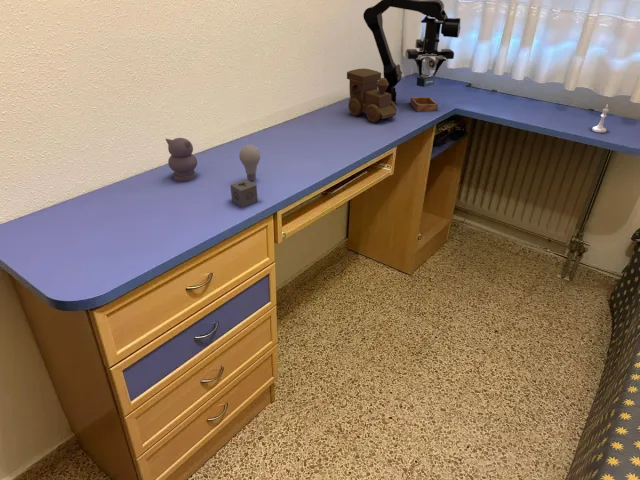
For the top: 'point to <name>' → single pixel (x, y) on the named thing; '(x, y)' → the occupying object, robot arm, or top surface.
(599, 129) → the chess piece
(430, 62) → the watch
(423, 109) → the tray
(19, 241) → the top surface
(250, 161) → the lightbulb
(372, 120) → the wooden toy train
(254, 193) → the dark grey engraved cube
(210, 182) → the top surface
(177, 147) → the cat figurine
